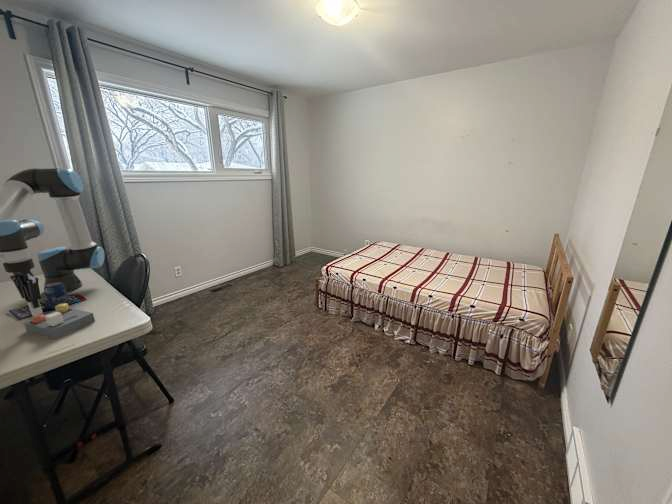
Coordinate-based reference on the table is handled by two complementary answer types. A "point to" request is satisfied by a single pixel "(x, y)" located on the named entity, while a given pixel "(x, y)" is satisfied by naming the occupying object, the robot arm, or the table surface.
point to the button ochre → (62, 308)
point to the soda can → (56, 294)
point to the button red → (38, 319)
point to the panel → (61, 324)
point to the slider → (54, 319)
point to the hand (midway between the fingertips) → (37, 314)
